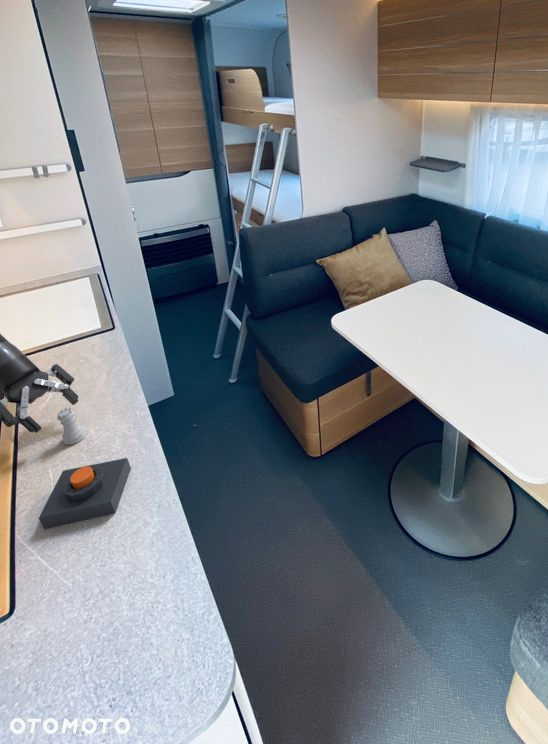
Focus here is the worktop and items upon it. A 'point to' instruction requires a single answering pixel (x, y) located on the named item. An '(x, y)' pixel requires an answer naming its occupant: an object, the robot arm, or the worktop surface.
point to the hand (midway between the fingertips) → (58, 416)
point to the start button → (82, 477)
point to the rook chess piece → (71, 427)
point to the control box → (86, 495)
